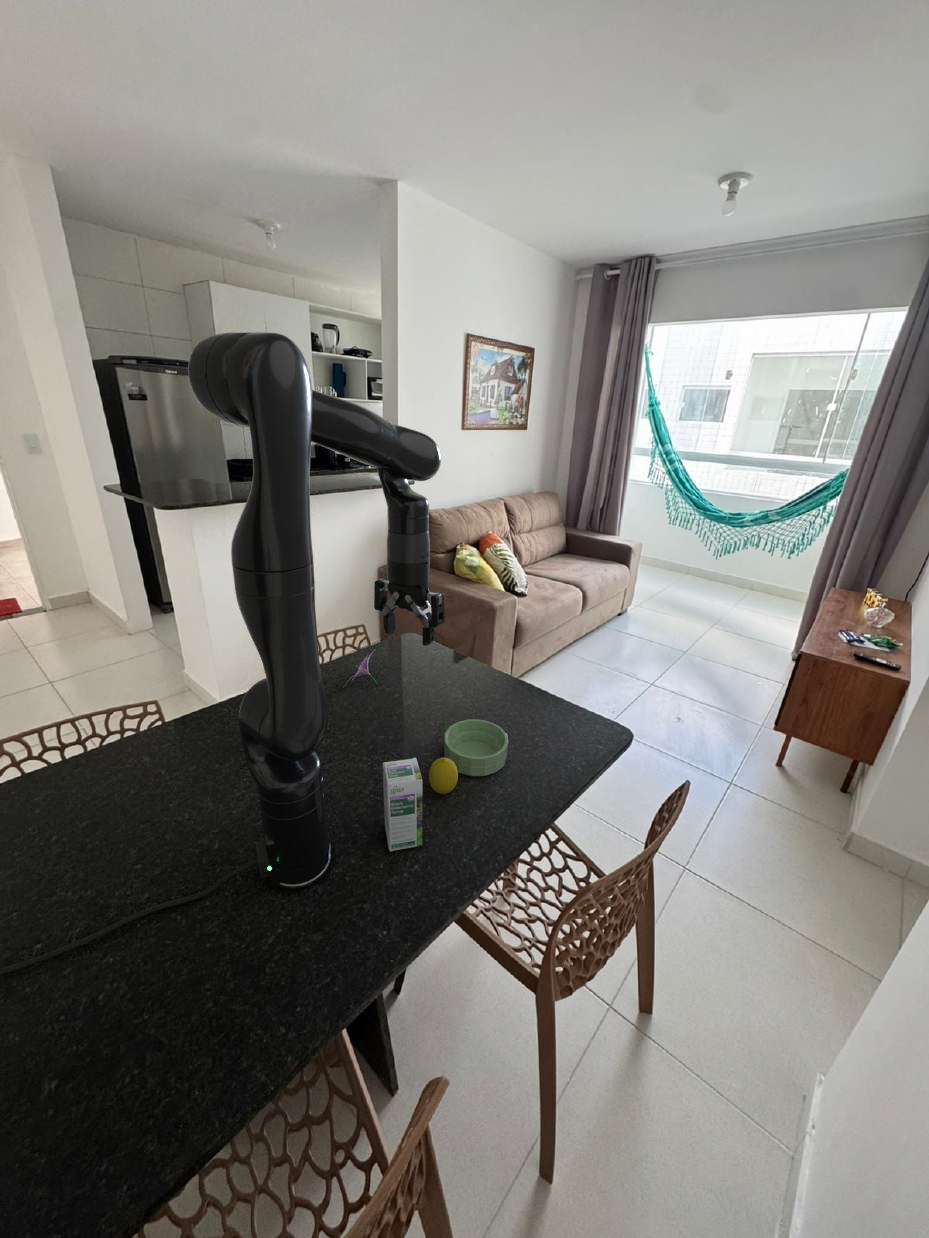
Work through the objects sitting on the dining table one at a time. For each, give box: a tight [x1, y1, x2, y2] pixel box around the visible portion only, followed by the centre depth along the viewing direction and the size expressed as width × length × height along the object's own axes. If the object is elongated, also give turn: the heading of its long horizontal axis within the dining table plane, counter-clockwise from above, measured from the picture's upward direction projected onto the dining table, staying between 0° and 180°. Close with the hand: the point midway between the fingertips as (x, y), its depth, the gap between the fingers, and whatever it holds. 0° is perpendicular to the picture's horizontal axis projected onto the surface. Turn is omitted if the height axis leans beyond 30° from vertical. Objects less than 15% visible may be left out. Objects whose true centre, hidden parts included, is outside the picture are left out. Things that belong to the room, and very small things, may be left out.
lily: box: [342, 650, 379, 689], centre depth 132 cm, size 12×12×10 cm
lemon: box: [428, 757, 459, 795], centre depth 97 cm, size 6×6×8 cm
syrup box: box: [382, 757, 423, 853], centre depth 86 cm, size 6×6×14 cm
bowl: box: [443, 718, 509, 777], centre depth 107 cm, size 13×13×5 cm
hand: (408, 638), depth 96 cm, fingers open, 8 cm apart
